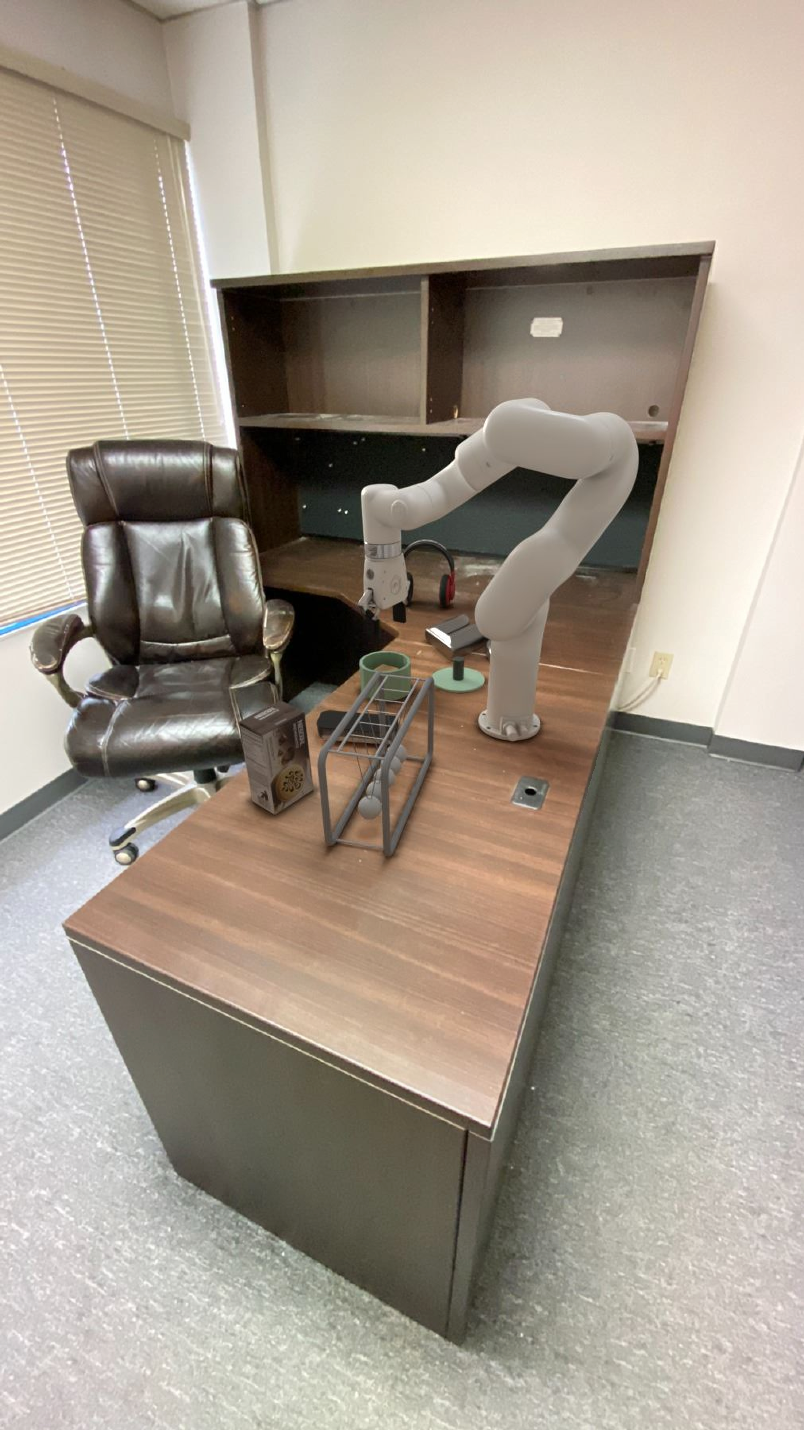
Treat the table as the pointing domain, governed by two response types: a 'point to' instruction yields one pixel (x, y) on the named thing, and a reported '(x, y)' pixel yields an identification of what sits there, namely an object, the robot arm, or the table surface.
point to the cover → (458, 678)
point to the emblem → (457, 637)
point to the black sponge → (333, 718)
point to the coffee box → (277, 756)
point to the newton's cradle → (388, 765)
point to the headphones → (446, 581)
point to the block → (385, 668)
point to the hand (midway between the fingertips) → (387, 628)
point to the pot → (387, 673)
